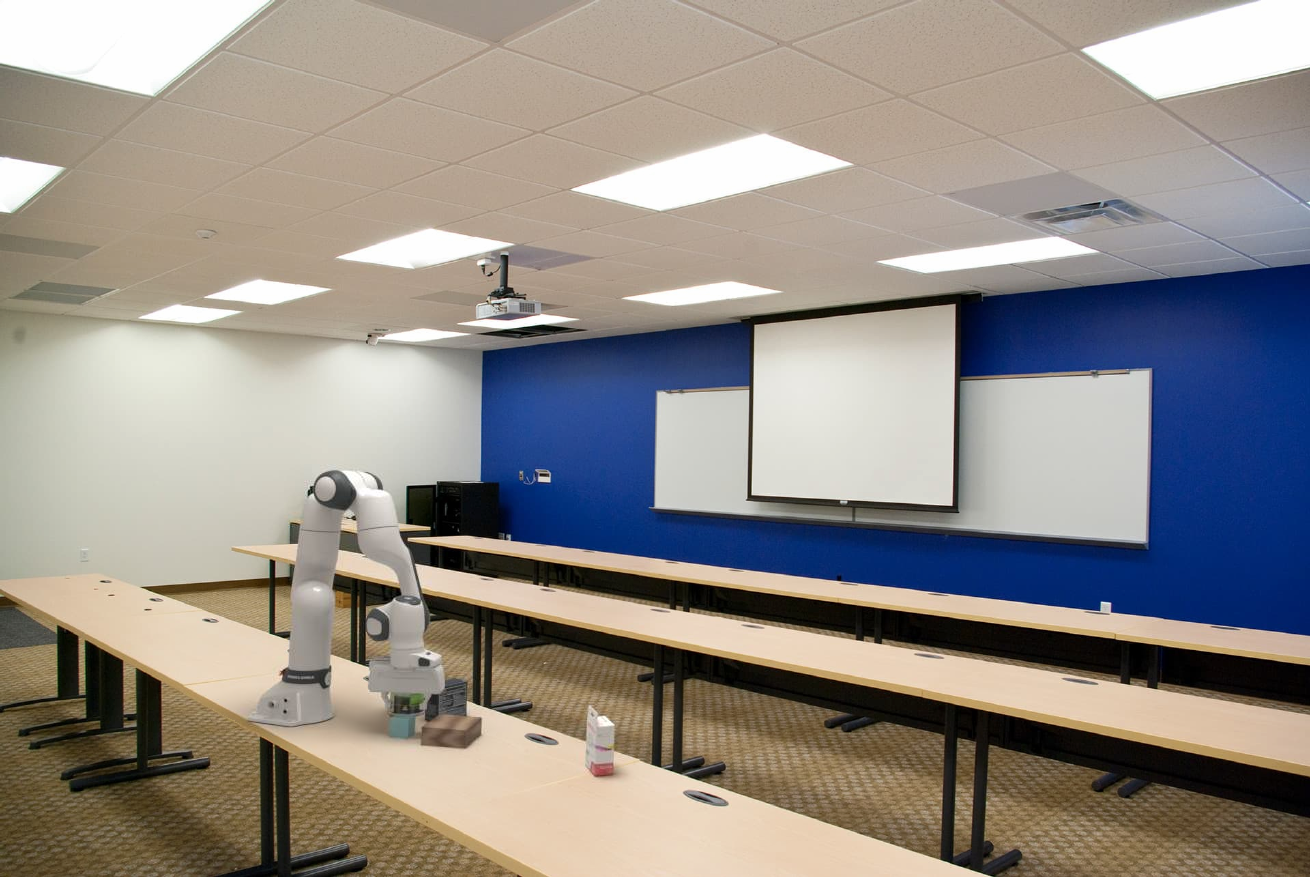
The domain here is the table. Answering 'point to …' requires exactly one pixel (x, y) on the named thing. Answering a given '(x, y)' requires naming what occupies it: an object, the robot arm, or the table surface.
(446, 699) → the small box
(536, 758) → the table surface
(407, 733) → the teal cube
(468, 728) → the walnut base block
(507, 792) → the table surface
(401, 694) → the coffee can
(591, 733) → the ink cartridge box
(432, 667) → the robot arm
